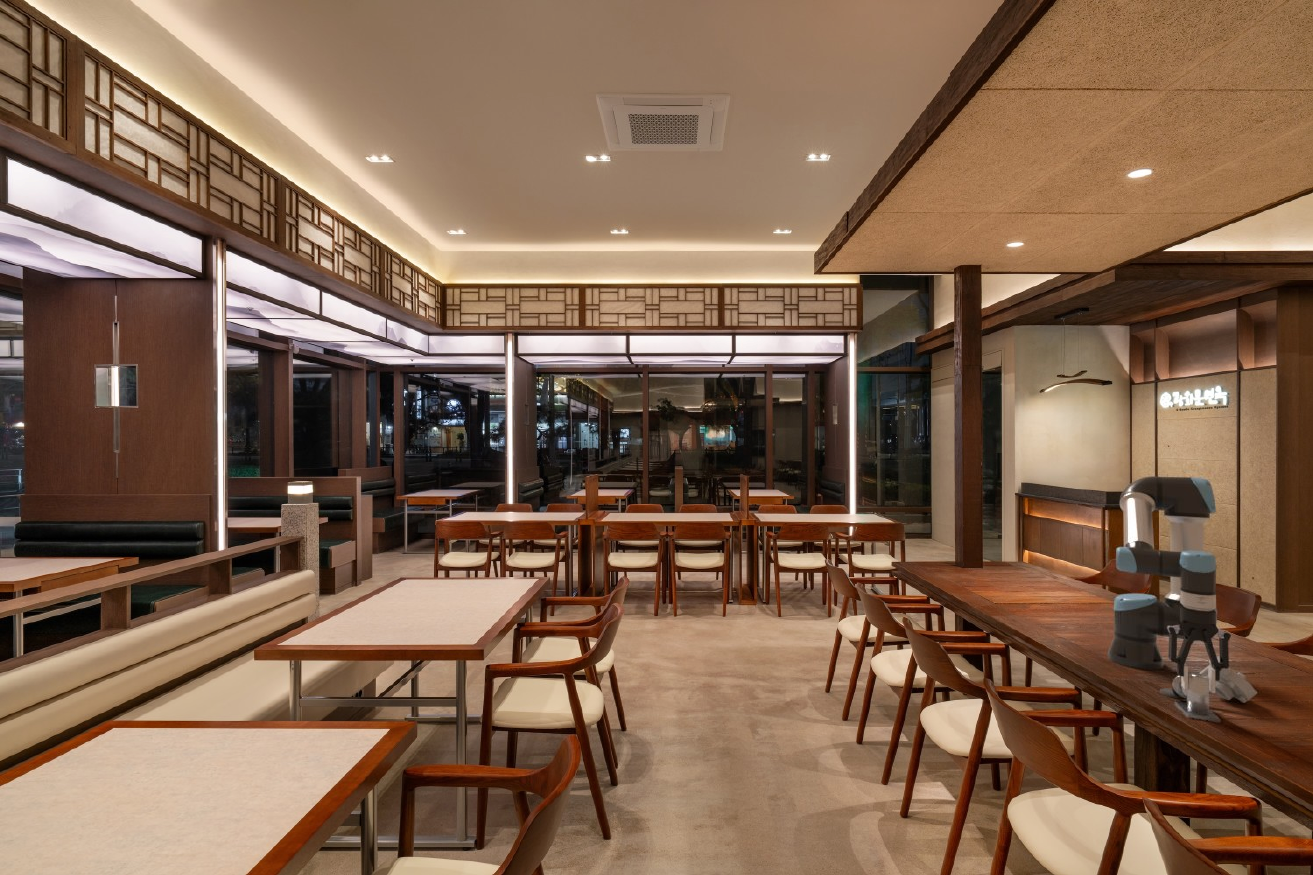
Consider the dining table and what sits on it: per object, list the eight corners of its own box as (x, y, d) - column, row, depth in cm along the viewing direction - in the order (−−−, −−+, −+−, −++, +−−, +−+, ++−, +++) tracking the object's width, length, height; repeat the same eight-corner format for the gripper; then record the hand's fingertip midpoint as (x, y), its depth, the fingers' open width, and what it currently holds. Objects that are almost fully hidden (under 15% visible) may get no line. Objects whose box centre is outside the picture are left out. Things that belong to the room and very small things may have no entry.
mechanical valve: (1266, 699, 174) (1236, 659, 174) (1217, 737, 174) (1187, 698, 174) (1231, 682, 185) (1202, 645, 184) (1185, 719, 185) (1156, 682, 184)
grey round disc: (1157, 690, 187) (1157, 687, 187) (1181, 693, 184) (1181, 690, 184) (1163, 697, 182) (1163, 694, 182) (1188, 701, 179) (1188, 698, 179)
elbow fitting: (1171, 701, 178) (1172, 664, 178) (1201, 706, 175) (1202, 668, 175) (1187, 718, 167) (1188, 678, 167) (1220, 723, 165) (1221, 682, 165)
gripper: (1161, 606, 171) (1161, 688, 171) (1246, 614, 163) (1246, 700, 163) (1153, 600, 178) (1153, 678, 178) (1235, 607, 169) (1235, 689, 170)
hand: (1198, 689), depth 170 cm, fingers open, 5 cm apart
